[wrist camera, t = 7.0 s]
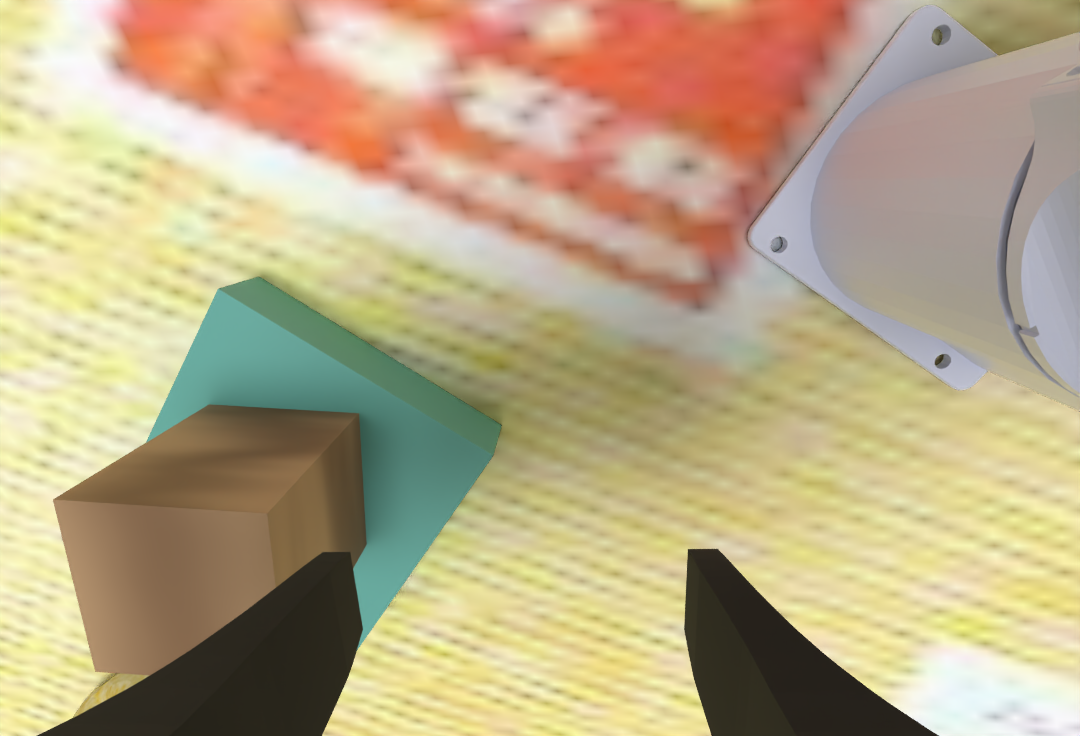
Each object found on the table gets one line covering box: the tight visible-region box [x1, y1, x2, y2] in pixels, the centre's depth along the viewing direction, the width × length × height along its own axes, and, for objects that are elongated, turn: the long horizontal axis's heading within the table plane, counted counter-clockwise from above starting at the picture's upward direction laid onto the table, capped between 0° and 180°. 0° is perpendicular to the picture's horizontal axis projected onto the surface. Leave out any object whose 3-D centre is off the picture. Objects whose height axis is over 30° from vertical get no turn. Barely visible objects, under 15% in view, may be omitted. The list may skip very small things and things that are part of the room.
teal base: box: [146, 277, 502, 650], centre depth 21 cm, size 10×10×3 cm
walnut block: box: [53, 404, 367, 676], centre depth 17 cm, size 5×5×6 cm
